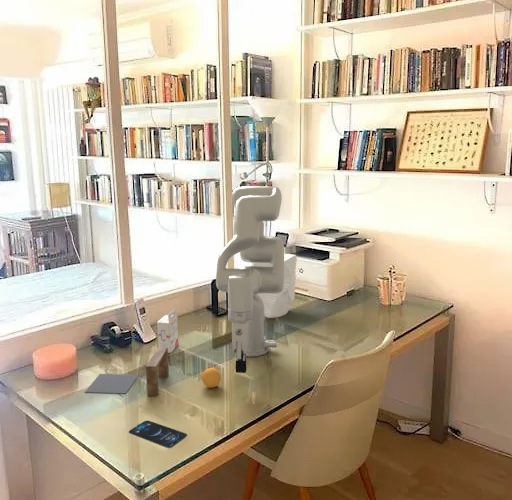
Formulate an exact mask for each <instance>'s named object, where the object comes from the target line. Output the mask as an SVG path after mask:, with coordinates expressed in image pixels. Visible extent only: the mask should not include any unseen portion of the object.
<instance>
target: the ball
mask: <svg viewBox="0 0 512 500" xmlns="http://www.w3.org/2000/svg"><path fill="white" fill-rule="evenodd" d="M221 379H222V375H221V373H220V371H219V370H218V369H217V368H214V367H210V368H209V367H208V368H207V369H205V370H204V371H203V373H202V374H201V381H202V384H203V385H204V386H205V387H206V388H210V389H212V388H216V387H218V385H219V384H220V383H221Z"/></svg>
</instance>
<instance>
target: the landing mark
mask: <svg viewBox="0 0 512 500" xmlns="http://www.w3.org/2000/svg"><path fill="white" fill-rule="evenodd" d="M138 376H139V374H124V373H123V374H120V373H119V374H118V373H117V374H116V373H115V374H114V373H99V374H98V375H97V376H96V378H95V379H94V380H93V381H92V383H91V384H90V385H89V386H88V387H87V388H86V390H85V391H84V393H86V394H87V393H89V394H90V393H91V394H92V393H94V394H118V395H119V394H123V395H126V394H127V393H128V392H129V390H130V389H131V387H132V385H133V384H134V383H135V381H136V380H137V378H138Z"/></svg>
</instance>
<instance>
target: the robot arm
mask: <svg viewBox="0 0 512 500" xmlns="http://www.w3.org/2000/svg"><path fill="white" fill-rule="evenodd" d="M232 191H233V192H232V193H231V194H232V203H233V207H234V220H233V221H234V224H233V237H232V239H231V240H230V241H229V242H228V243H227V244H226V245H225V246H224V247H223V249H222V250H221V252H220V253H219V255H218V258H217V265H216V275H215V285H216V288H217V290H219V292H222V293H227V311H228V312H227V316H228V317H227V318H228V322H231V345H232V353H233V354H235V373H237V374H238V373H239V374H240V373H241V374H245V373H247V357H250V358H251V357H253V358H254V357H260V356H263V355H265V354H267V353H269V350H270V348H275V349H276V348H277V342H275V341H274V339H273V340H272V339H271V340H269V339H267V338H266V335H265V316H264V303H263V301H262V299H261V298H260V296H259V295H258V294H257V293H280V292H281V291H282V290H283V287H284V254H285V244H284V241H283V239H282V237H281V238H280V237H278V236H267V235H265V233H264V232H265V230H264V229H265V222H274V221H276V220H277V219H279V215H280V211H281V205H282V191H281V189H280V188H279V187H277V186H270V185H269V186H267V185H265V186H263V185H261V186H258V185H253V186H252V185H251V186H250V185H249V186H248V185H245V186H239V187H236V188H235V189H234V190H232ZM238 253H239V255H240V259H241V261H243V262H245V263H251V262H252V263H270V264H272V267H261V266H250V265H248V266H247V265H246V266H241V267H240V268H232V267H230V268H227V267H228V266H227V265H228V262H229V261H230V259H232V258H233V256H235V255H237V254H238Z"/></svg>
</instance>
